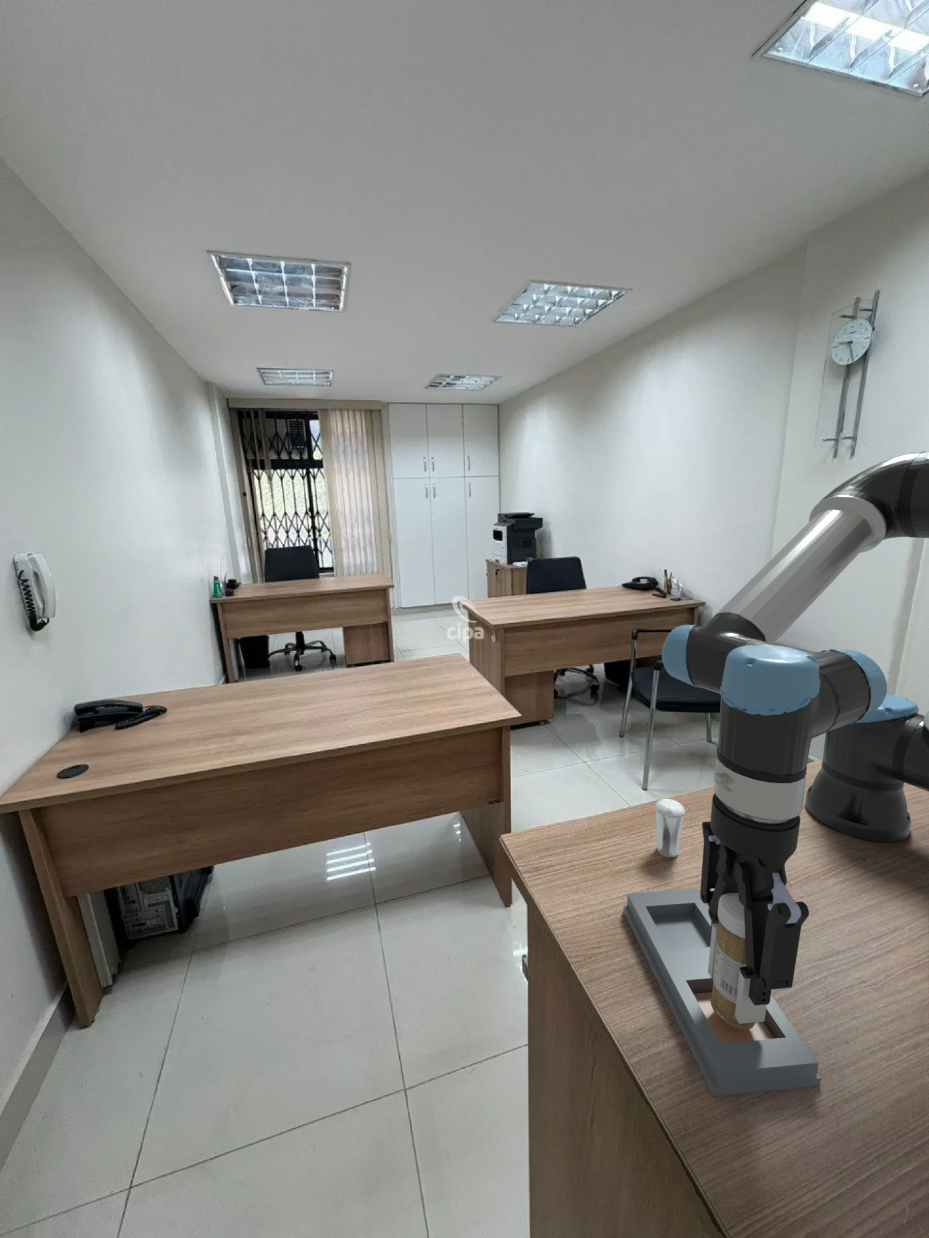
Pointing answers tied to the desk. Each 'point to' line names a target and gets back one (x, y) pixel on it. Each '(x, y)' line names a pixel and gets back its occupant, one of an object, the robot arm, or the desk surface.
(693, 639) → the robot arm
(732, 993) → the sprinkles bottle
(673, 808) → the milkshake
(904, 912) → the desk surface
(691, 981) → the two-pocket grey tray
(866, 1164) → the desk surface
